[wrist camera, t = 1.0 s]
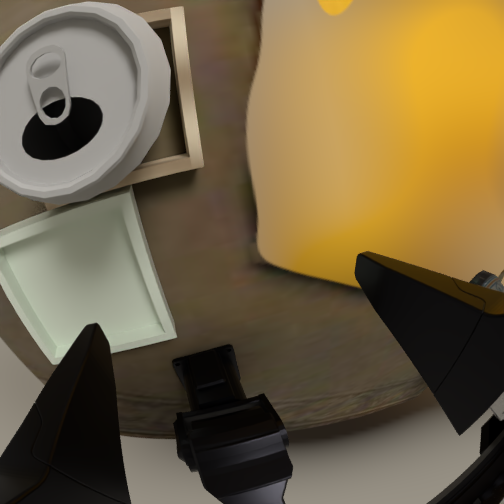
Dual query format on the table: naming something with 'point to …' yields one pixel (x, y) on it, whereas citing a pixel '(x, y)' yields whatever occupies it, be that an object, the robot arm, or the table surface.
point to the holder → (186, 104)
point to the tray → (85, 275)
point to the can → (79, 101)
